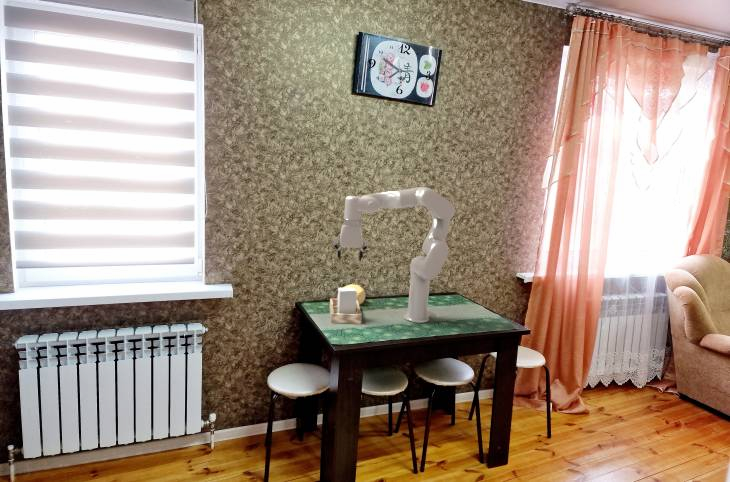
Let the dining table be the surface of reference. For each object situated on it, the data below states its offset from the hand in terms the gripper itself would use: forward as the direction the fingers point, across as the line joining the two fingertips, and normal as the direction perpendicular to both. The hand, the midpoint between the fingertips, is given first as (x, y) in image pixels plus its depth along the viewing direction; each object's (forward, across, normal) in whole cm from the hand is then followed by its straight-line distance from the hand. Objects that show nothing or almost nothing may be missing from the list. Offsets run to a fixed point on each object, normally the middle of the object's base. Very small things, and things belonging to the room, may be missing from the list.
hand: (349, 259), depth 219 cm
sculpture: (+30, -6, -26) cm, 40 cm away
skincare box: (+29, 0, 0) cm, 29 cm away
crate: (+30, 0, -6) cm, 30 cm away
